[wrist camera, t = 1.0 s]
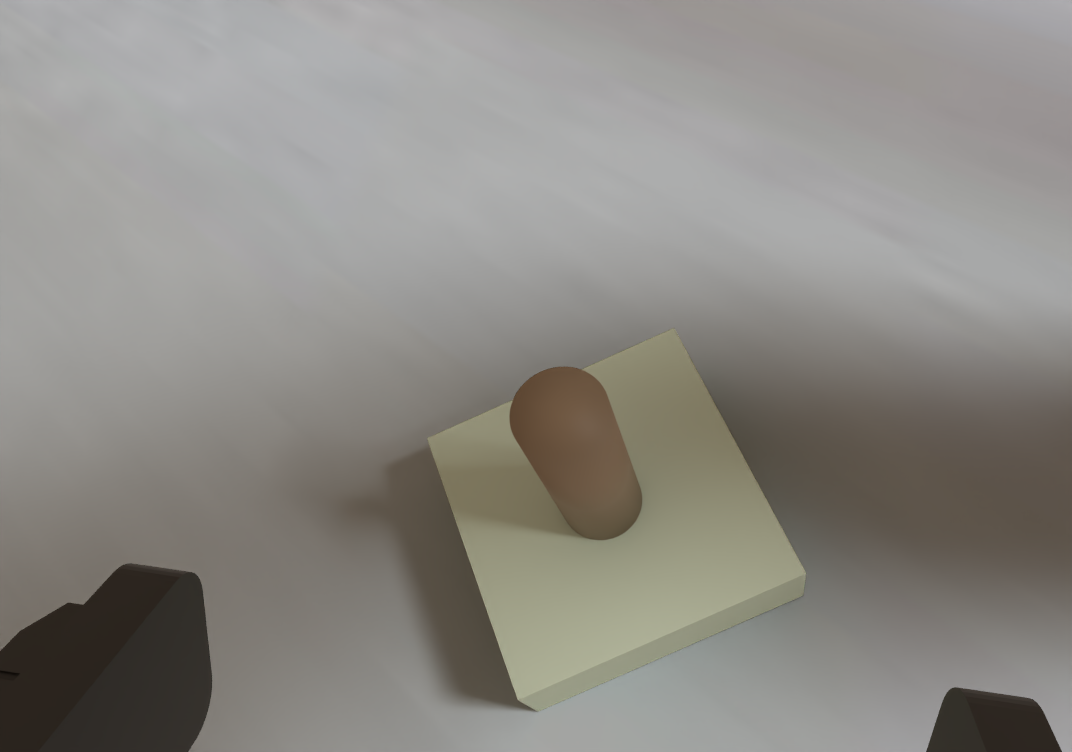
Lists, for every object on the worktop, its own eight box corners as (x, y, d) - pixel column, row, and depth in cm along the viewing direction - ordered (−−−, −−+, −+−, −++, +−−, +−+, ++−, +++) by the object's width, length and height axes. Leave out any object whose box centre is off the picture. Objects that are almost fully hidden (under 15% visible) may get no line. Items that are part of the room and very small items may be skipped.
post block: (680, 364, 37) (651, 206, 28) (803, 595, 32) (817, 496, 23) (450, 466, 37) (347, 343, 28) (538, 711, 32) (447, 659, 23)
